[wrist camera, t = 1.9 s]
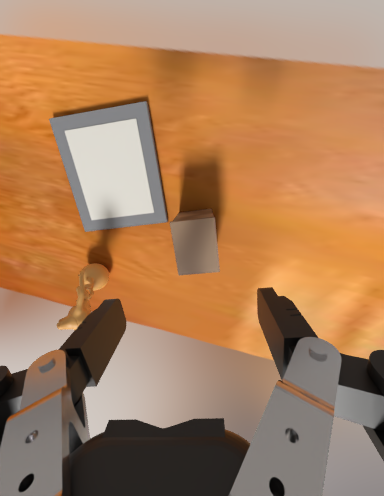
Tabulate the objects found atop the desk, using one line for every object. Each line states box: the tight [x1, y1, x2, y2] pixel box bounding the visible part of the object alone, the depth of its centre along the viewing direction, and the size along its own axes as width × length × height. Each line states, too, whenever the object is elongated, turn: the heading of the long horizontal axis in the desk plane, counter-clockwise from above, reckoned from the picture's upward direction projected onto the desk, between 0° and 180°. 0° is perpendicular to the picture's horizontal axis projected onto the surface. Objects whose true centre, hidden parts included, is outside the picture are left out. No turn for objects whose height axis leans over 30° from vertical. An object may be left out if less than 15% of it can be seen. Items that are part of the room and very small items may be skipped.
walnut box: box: [170, 208, 220, 275], centre depth 24 cm, size 5×6×7 cm
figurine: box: [57, 263, 109, 330], centre depth 25 cm, size 8×6×12 cm
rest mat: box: [49, 101, 168, 232], centre depth 25 cm, size 12×14×1 cm
